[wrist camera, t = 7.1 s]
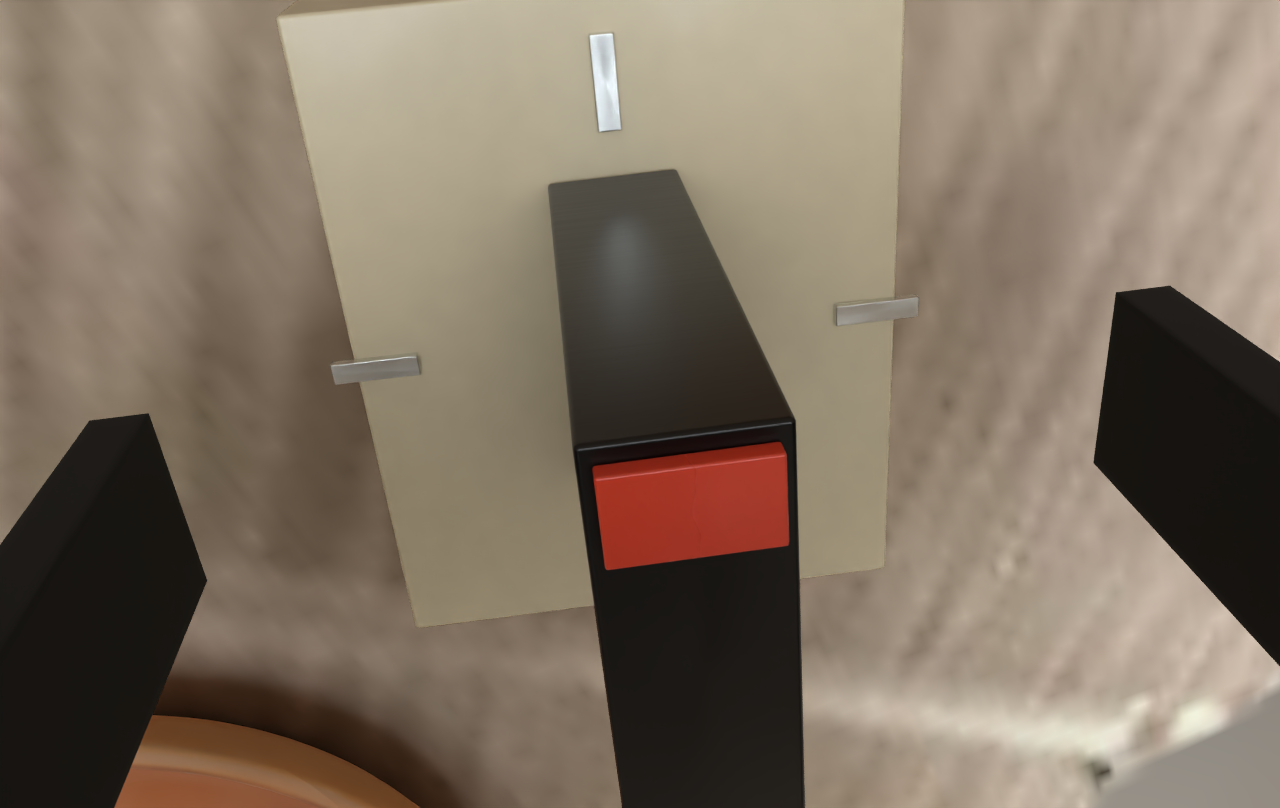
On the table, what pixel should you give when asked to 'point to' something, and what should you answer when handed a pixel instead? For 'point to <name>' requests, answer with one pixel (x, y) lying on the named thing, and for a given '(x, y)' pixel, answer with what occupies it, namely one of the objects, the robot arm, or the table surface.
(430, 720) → the table surface
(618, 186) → the black upright block
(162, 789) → the saucer
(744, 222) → the beige flat block
